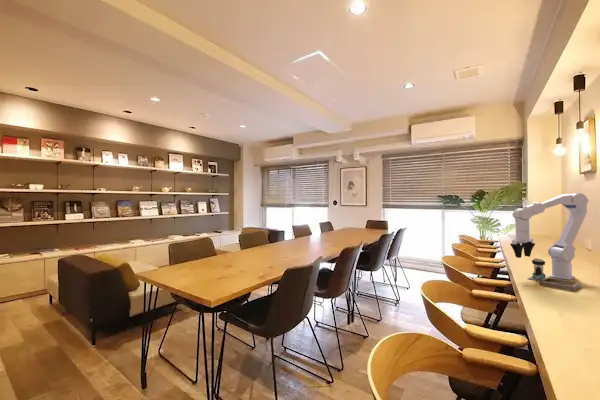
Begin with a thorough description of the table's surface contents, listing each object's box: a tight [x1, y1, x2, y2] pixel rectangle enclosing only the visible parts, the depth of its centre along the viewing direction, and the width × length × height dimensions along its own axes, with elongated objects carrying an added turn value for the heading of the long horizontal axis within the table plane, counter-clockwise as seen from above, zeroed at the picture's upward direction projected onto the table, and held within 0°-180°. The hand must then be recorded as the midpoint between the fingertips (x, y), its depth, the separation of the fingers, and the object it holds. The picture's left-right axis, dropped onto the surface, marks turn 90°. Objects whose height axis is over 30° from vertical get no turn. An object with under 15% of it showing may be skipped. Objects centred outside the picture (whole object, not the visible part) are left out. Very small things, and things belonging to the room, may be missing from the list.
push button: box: [531, 258, 546, 280], centre depth 143 cm, size 7×5×10 cm
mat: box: [527, 276, 540, 282], centre depth 143 cm, size 8×7×1 cm
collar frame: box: [538, 276, 582, 292], centre depth 132 cm, size 11×12×2 cm
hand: (522, 256), depth 149 cm, fingers open, 7 cm apart
